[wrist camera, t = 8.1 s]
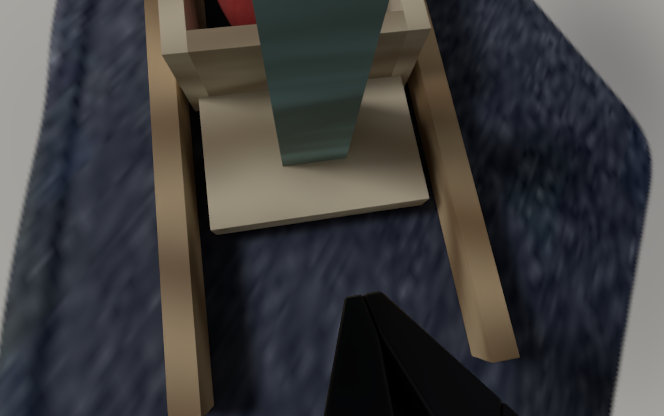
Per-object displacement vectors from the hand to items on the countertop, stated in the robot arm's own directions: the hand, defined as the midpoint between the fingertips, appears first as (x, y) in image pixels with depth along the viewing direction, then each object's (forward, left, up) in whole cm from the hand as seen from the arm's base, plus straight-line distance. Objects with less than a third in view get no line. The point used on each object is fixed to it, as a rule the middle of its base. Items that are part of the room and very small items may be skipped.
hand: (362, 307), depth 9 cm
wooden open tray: (+8, +9, -9) cm, 15 cm away
